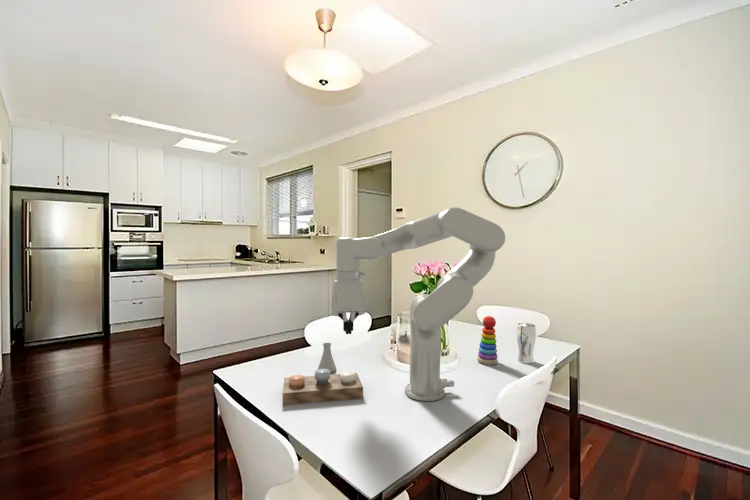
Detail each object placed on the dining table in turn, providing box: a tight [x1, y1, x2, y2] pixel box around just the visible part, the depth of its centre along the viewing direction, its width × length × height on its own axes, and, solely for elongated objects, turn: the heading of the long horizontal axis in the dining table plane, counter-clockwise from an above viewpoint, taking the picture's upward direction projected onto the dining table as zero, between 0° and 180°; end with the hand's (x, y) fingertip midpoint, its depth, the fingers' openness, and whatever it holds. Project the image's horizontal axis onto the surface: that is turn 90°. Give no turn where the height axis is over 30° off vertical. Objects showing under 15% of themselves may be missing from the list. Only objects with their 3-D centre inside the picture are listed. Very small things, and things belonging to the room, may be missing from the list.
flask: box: [317, 342, 337, 374], centre depth 134 cm, size 7×7×10 cm
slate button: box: [314, 368, 331, 385], centre depth 114 cm, size 5×5×6 cm
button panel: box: [282, 372, 364, 406], centre depth 114 cm, size 24×12×4 cm, turn 102°
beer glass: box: [516, 322, 537, 365], centre depth 146 cm, size 7×7×15 cm
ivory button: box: [339, 371, 356, 383], centre depth 116 cm, size 5×5×6 cm
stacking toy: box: [476, 315, 499, 366], centre depth 145 cm, size 8×8×19 cm
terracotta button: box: [288, 374, 305, 387], centre depth 113 cm, size 5×5×6 cm
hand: (348, 333), depth 115 cm, fingers closed
